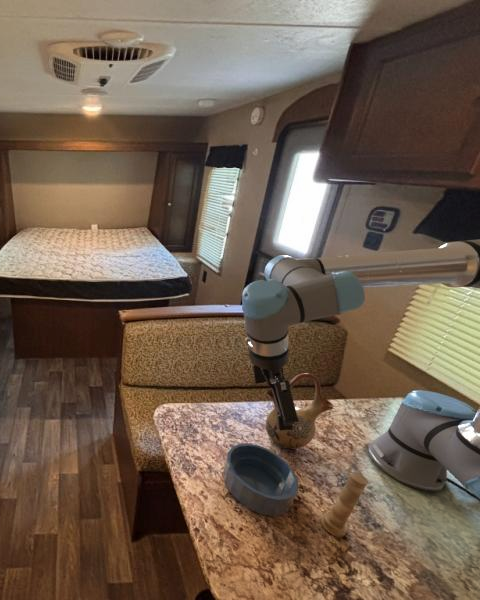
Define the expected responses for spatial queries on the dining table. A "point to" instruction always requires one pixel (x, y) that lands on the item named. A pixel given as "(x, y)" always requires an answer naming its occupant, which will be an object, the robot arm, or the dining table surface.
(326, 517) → the wooden pestle
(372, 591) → the dining table surface
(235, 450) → the bowl
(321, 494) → the dining table surface
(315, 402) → the ceramic vessel
